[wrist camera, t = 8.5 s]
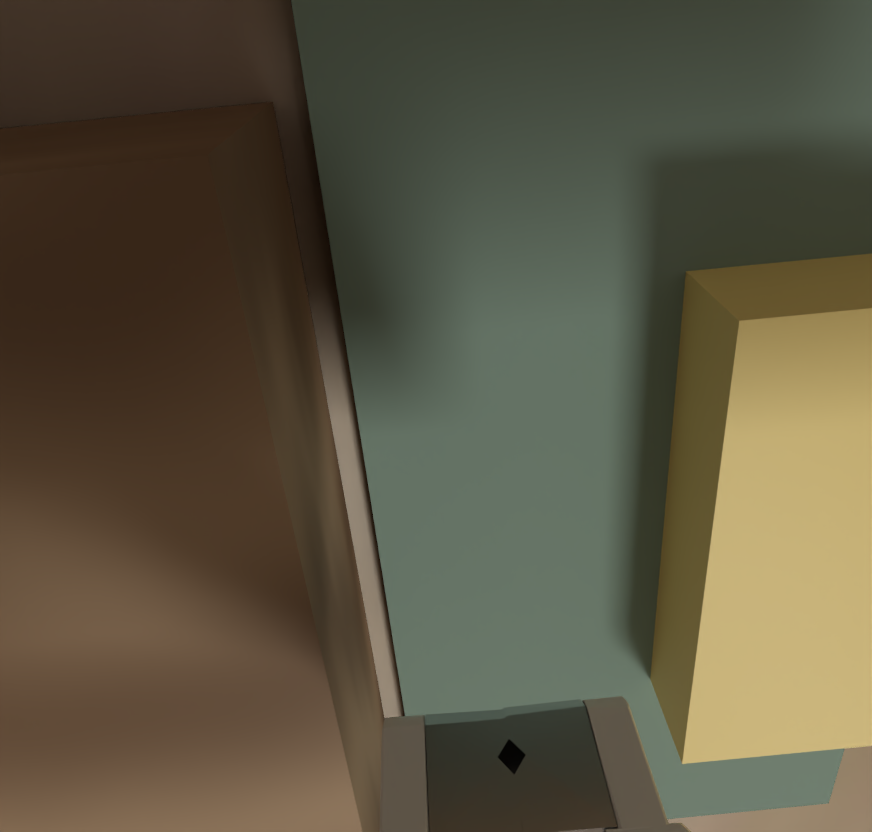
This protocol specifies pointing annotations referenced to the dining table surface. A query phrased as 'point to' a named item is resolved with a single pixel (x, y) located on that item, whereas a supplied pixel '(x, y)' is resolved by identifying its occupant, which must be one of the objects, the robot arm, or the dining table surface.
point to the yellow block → (769, 514)
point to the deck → (171, 494)
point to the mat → (562, 310)
